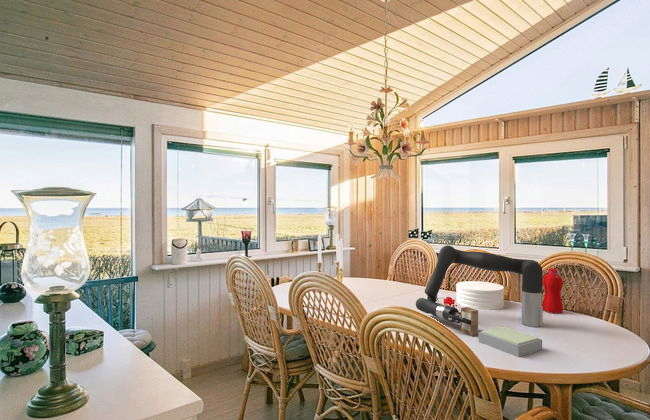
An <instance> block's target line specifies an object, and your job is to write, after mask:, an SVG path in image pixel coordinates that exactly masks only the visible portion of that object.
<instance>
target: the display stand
mask: <svg viewBox="0 0 650 420" xmlns="http://www.w3.org/2000/svg"><path fill="white" fill-rule="evenodd" d="M478 343H481V344H483V345H486V346H489V347H491V348H495V349H497V350H500V351H501V352H505V353H507V354H510V355H512V356H515V357H522V356H526V355H529V354H532V353H536V352H540V351H542V350H543V339H542V338H539V337H537V336H534V335H530V334H527V333H525V332H522V331H521V332H520V331H518V330H515V329H513V328H512V329H511V328H509V327H505V326H497V327H494V328H489V329H485V330H482V331H481V330H480V331H478Z"/></svg>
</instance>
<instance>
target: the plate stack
mask: <svg viewBox="0 0 650 420" xmlns="http://www.w3.org/2000/svg"><path fill="white" fill-rule="evenodd" d="M504 290H505V287H504V286H503V285H502V284H499V283H494V282H488V281H478V280H476V281H475V280H466V281H464V280H463V281H459V282H457V283H455V291H456V292H455V299H456V300H455V303H456V302H457V303H459V304H460V305H459V304H458V305H459V306H461V307H469V308H472V309H476V310H488V309H489V310H498V309H499V308H500V309H502V308H504V307H505V303H504V302H505V300H504V299H505V295H504V294H505V291H504ZM457 303H456V304H457Z"/></svg>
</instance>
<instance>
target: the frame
mask: <svg viewBox="0 0 650 420" xmlns="http://www.w3.org/2000/svg"><path fill="white" fill-rule="evenodd" d="M460 312H461V317H463V318H466V319H469V320H471V324H470V325H469V324H466V323H461V322H460V333H462V334H465V335H468V336H470V337H476V336H479V309H474V308H469V307H464V306H462V307H460Z"/></svg>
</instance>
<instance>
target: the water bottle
mask: <svg viewBox="0 0 650 420" xmlns="http://www.w3.org/2000/svg"><path fill="white" fill-rule="evenodd" d="M547 270H548V271H547V272H548V273H546V274H545V275H543V283H542V287H543V290H544V296H543V299H542V308H543V312H547V313H549V314H561V313H563V311H564V305H563V300H562V296H561V294H562V289H563V284H564V282H563V278H562V277H561V276H560V275H559V274H558V269H557V268H553V267H552V268H548V269H547Z"/></svg>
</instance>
